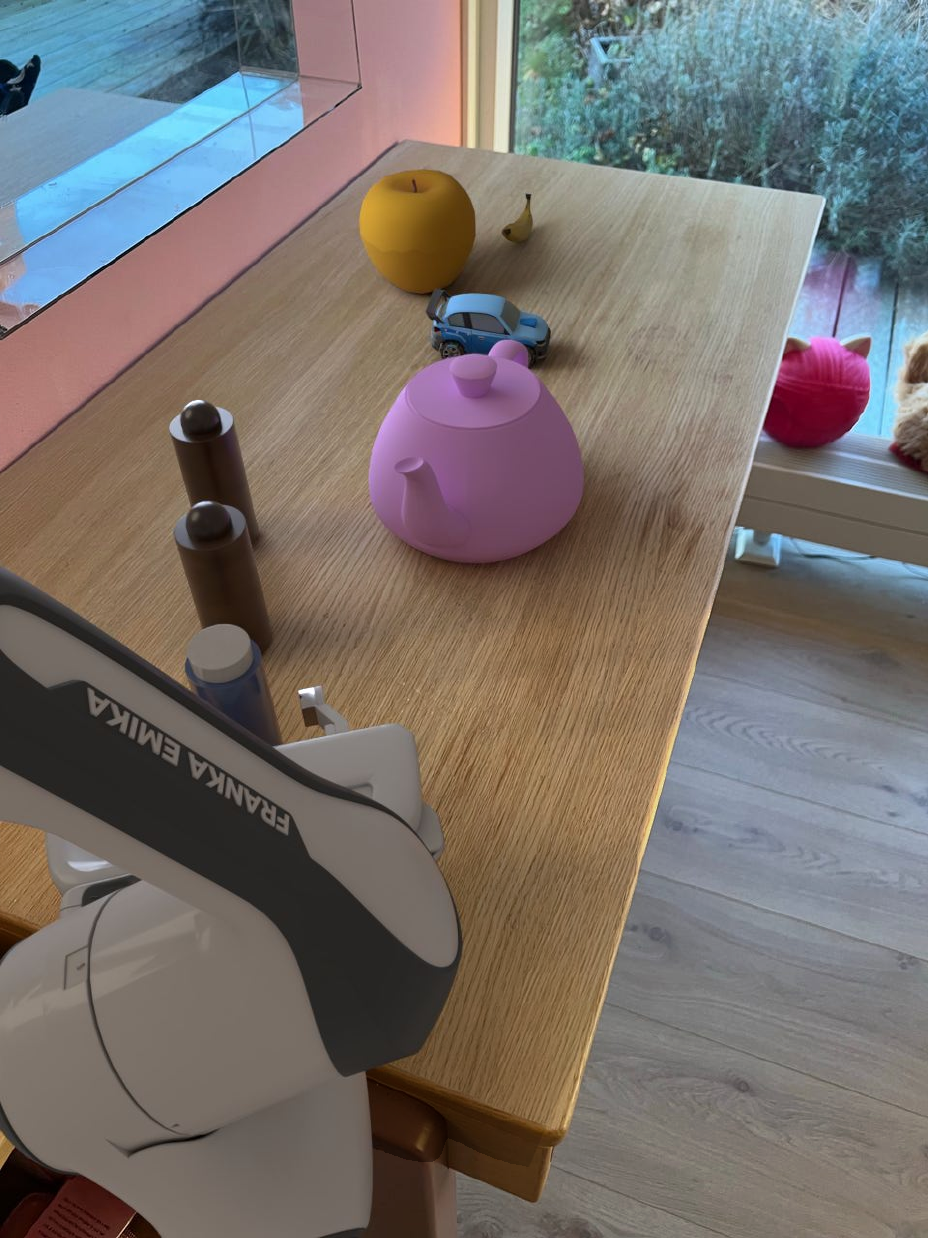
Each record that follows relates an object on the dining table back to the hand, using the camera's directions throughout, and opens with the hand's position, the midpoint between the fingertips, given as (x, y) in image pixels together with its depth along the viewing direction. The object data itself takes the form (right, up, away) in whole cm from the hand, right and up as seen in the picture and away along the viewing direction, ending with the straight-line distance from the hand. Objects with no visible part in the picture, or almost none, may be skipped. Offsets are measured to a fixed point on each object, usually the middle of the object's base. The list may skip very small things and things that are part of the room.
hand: (233, 708), depth 60 cm
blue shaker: (0, -5, +6) cm, 8 cm away
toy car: (+17, +32, +42) cm, 56 cm away
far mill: (-6, +12, +23) cm, 27 cm away
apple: (+9, +44, +54) cm, 70 cm away
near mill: (-3, +4, +14) cm, 15 cm away
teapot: (+15, +14, +24) cm, 32 cm away
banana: (+20, +50, +60) cm, 81 cm away
